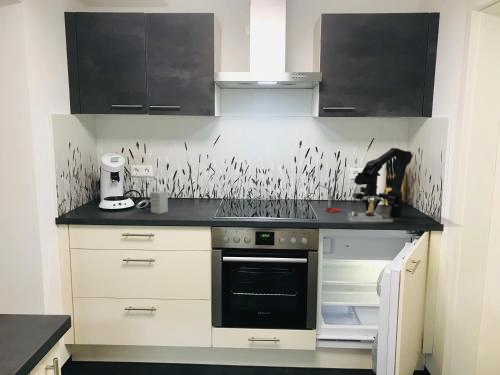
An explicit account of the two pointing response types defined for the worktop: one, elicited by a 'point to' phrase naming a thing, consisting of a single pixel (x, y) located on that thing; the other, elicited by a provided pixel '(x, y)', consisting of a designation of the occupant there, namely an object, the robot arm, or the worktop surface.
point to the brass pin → (370, 208)
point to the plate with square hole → (368, 217)
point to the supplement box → (159, 202)
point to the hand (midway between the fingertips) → (370, 210)
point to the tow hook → (330, 205)
